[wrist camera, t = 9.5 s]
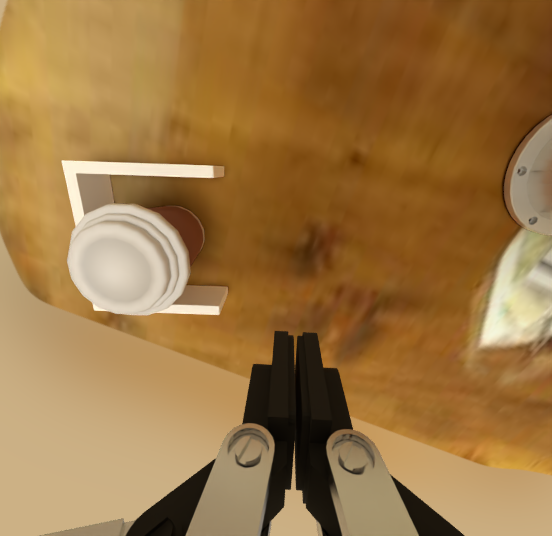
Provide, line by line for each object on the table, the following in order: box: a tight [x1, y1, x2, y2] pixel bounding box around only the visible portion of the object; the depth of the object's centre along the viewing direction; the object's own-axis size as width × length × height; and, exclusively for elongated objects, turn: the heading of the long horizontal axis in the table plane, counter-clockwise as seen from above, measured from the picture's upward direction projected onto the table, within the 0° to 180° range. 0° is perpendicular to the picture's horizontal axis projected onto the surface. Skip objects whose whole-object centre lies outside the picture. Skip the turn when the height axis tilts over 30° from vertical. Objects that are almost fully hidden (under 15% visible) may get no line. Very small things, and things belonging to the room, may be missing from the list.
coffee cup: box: [67, 203, 205, 315], centre depth 25 cm, size 9×9×12 cm
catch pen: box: [62, 161, 228, 315], centre depth 28 cm, size 13×14×5 cm
